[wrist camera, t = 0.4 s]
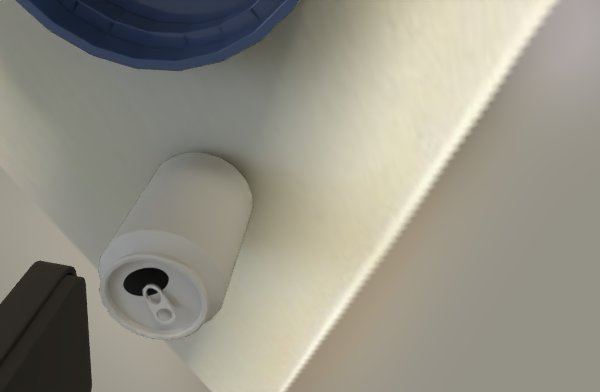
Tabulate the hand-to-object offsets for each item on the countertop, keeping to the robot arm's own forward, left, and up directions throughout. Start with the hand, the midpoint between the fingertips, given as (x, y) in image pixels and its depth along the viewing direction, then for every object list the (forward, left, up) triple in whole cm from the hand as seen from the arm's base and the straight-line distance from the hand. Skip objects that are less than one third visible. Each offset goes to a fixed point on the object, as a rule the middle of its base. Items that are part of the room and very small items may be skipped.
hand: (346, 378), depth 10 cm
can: (+17, +3, -29) cm, 33 cm away
